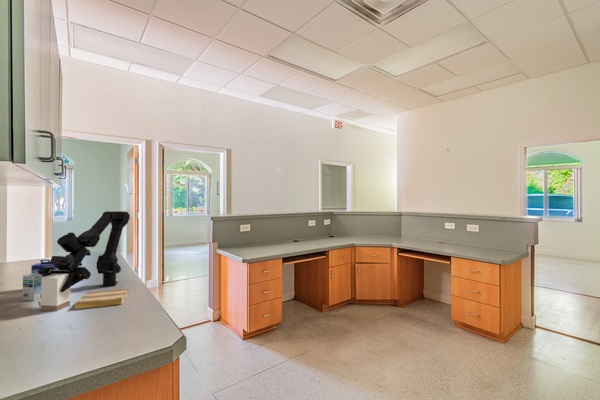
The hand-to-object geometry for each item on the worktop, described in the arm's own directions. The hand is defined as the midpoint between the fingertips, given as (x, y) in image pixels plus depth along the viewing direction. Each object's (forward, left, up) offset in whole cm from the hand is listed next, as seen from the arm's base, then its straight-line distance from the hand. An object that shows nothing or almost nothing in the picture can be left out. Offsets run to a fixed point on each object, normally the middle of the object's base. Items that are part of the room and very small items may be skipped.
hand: (52, 291), depth 113 cm
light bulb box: (-20, -11, -7) cm, 24 cm away
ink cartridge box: (-35, -15, -7) cm, 39 cm away
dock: (-3, +17, -7) cm, 18 cm away
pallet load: (-1, +1, -7) cm, 7 cm away
